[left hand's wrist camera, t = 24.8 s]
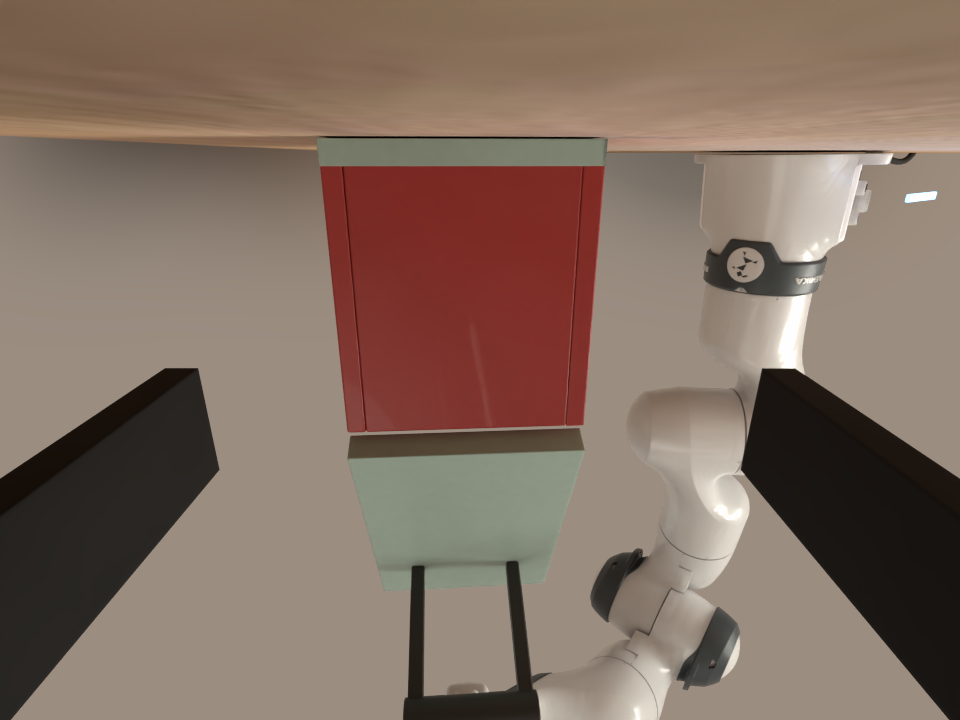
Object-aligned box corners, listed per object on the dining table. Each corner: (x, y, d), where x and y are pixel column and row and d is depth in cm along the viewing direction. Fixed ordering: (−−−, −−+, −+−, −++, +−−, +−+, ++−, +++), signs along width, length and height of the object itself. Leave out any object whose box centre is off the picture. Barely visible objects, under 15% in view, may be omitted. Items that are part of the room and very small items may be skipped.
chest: (538, 146, 30) (531, 327, 34) (369, 145, 29) (382, 330, 33) (607, 139, 17) (584, 425, 21) (315, 138, 17) (346, 433, 21)
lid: (541, 564, 32) (566, 739, 26) (385, 572, 32) (374, 753, 26) (579, 427, 22) (636, 663, 16) (350, 435, 21) (317, 683, 15)
